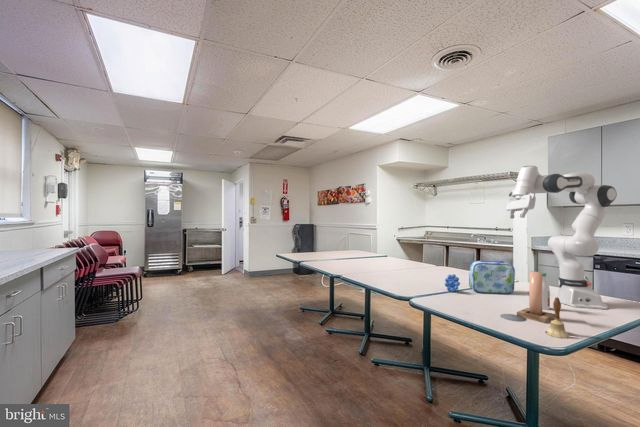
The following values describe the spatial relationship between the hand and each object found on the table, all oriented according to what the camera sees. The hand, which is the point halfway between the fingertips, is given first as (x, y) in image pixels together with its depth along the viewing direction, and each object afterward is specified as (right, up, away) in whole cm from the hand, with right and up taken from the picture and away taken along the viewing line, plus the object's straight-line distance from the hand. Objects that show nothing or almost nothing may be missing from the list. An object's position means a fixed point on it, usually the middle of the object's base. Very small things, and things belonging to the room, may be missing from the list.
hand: (516, 217), depth 168 cm
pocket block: (-2, -50, -18) cm, 53 cm away
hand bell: (-6, -50, -37) cm, 62 cm away
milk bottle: (+12, -50, -2) cm, 51 cm away
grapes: (-20, -50, +34) cm, 64 cm away
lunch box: (+5, -50, +34) cm, 61 cm away
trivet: (-14, -50, -18) cm, 55 cm away
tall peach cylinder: (-2, -49, -18) cm, 52 cm away
